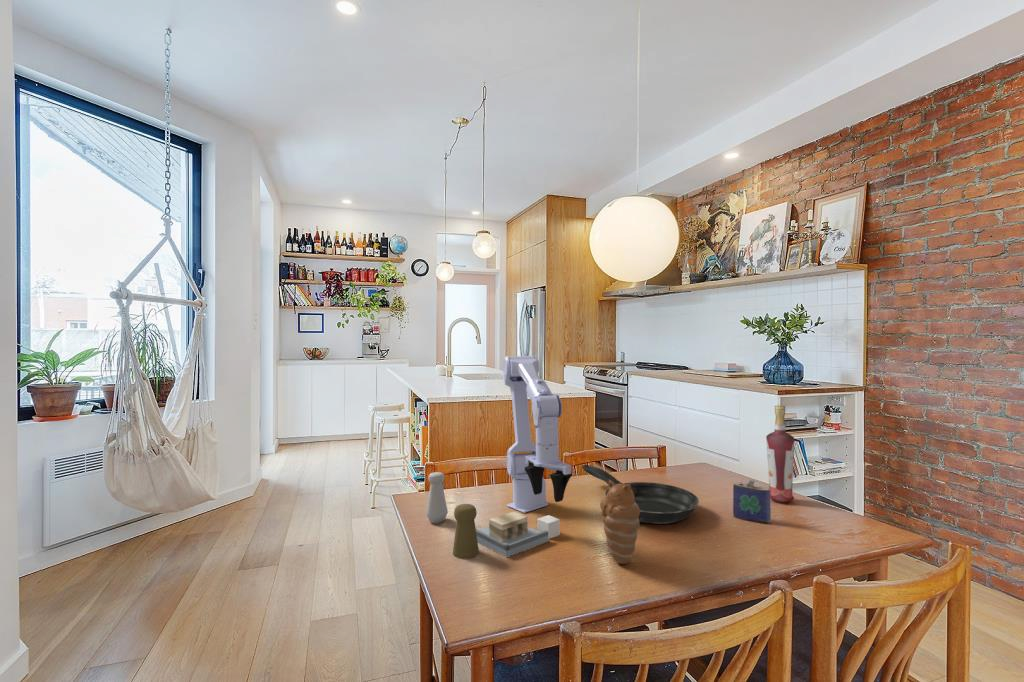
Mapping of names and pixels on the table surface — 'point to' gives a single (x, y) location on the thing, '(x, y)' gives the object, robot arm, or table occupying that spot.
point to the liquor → (780, 460)
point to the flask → (751, 502)
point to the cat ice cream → (620, 521)
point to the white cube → (549, 525)
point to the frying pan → (654, 499)
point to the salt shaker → (436, 499)
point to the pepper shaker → (465, 532)
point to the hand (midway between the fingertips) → (548, 497)
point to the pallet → (508, 526)
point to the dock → (512, 541)
